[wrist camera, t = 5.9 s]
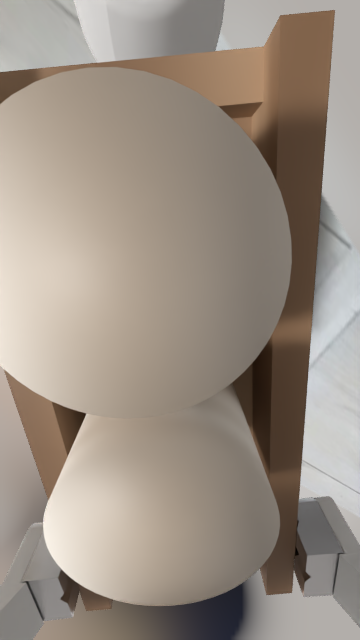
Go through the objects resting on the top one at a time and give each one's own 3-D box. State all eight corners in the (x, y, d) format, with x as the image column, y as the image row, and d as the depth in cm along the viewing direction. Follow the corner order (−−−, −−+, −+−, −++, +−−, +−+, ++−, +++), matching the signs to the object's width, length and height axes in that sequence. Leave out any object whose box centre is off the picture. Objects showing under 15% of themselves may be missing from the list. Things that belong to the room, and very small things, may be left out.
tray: (271, 90, 7) (528, -236, 2) (264, 507, 12) (332, 720, 7) (2, 117, 7) (-428, -140, 2) (105, 521, 12) (57, 744, 7)
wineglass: (211, 93, 29) (298, -178, 9) (176, 167, 31) (184, 79, 11) (143, 47, 27) (73, -390, 8) (112, 128, 30) (-7, -50, 10)
